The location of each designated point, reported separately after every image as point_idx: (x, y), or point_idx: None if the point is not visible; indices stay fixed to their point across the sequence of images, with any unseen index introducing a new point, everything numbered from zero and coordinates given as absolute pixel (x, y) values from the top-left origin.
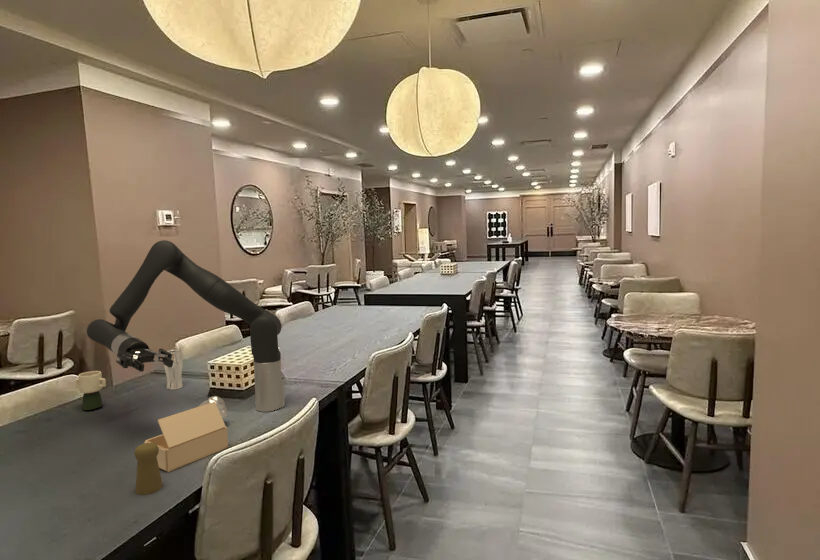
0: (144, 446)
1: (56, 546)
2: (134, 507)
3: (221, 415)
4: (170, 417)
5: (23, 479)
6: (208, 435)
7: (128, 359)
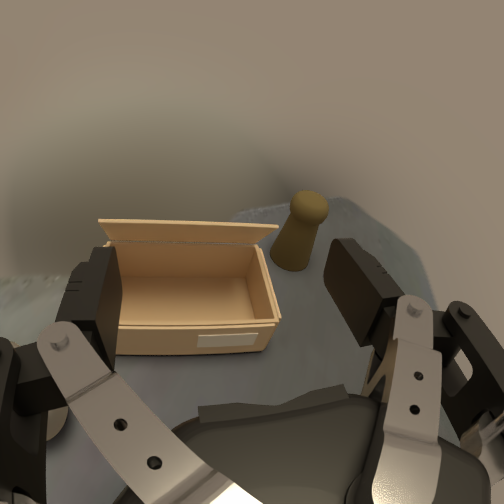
0: (317, 195)
1: (383, 231)
2: None
3: None
4: (244, 224)
5: (449, 432)
6: (157, 244)
7: (453, 312)
